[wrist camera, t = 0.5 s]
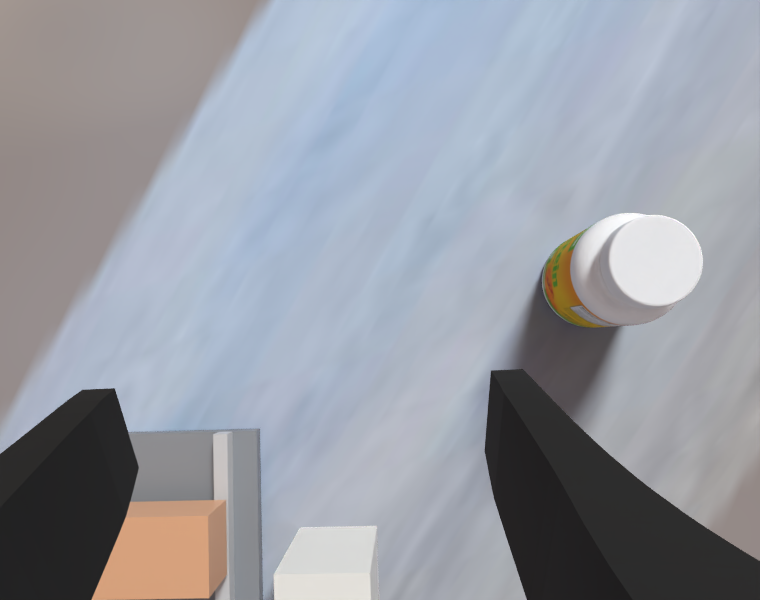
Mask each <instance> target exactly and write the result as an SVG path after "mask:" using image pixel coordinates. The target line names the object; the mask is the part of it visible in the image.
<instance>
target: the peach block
mask: <svg viewBox="0 0 760 600" xmlns="http://www.w3.org/2000/svg"><path fill="white" fill-rule="evenodd" d="M226 575H227V534H226V500H191V501H146V502H130V504H129V508H128V511H127V515H126V518H125V520H124V523H123V526H122V528H121V531H120V533H119V535H118V538H117V540H116V543H115V545H114V548H113V550H112V552H111V555H110V557H109V560H108V562H107V564H106V567H105V569H104V571H103V574H102V576H101V579H100V581H99V583H98V586H97V588H96V590H95V593H94V595H93V597H92V600H129V599H194V598H210V596H211V595H212V594H213V592H214V591H215V590H216V588H217V587H218V586H219V585H220V583H221V582H222V581H223V579H224V578H225V577H226Z"/></svg>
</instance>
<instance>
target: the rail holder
mask: <svg viewBox="0 0 760 600" xmlns="http://www.w3.org/2000/svg"><path fill="white" fill-rule="evenodd" d="M128 433H129V437H130V440H131V443H132V446H133V450H134V453H135V456H136V459H137V463H138V466H139V470H138V474H137V478H136V482H135V486H134V490H133V494H132V497H131V501H130V502H146V501H191V500H226V534H227V575H226V577H225V578H224V579H223V581H222V582H221V583H220V585H219V586H218V587H217V588H216V590H215V591H214V592H213V594H212V595H211V596H210V598H194V599H129V600H263V582H262V526H261V471H260V429H232V430H195V431H157V432H128Z"/></svg>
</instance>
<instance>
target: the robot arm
mask: <svg viewBox="0 0 760 600" xmlns="http://www.w3.org/2000/svg"><path fill="white" fill-rule="evenodd" d="M485 454H486V460H487V465H488V470H489V476H490V480H491V485H492V490H493V495H494V499H495V502H496V506H497V509H498V512H499V515H500V518H501V521H502V525H503V528H504V531H505V534H506V537H507V540H508V543H509V546H510V549H511V552H512V555H513V558H514V561H515V564H516V567H517V571H518V574H519V577H520V580H521V583H522V586H523V589H524V592H525V595H526V598H527V600H760V561H758V560H757V559H755V558H754V557H752V556H750V555H748V554H747V553H745V552H743V551H742V550H740V549H739V548H737V547H736V546H734V545H732V544H731V543H729V542H728V541H726V540H724V539H723V538H721V537H720V536H718V535H717V534H715V533H713V532H712V531H710V530H709V529H707V528H705V527H704V526H703V525H701V524H700V523H698V522H697V521H695V520H694V519H692V518H691V517H689V516H688V515H686V514H685V513H683V512H682V511H681V510H679V509H678V508H677V507H675V506H674V505H672V504H671V503H670V502H668V501H667V500H666V499H664V498H663V497H661V496H660V495H659V494H657V493H656V492H655V491H653V490H652V489H651V488H649V487H648V486H647V485H645V484H644V483H643V482H642V481H640V480H639V479H638V478H637V477H635V476H634V475H633V474H632V473H630V472H629V471H628V470H627V469H626V468H625V467H623V466H622V465H621V464H620V463H619V462H617V461H616V460H615V459H614V458H613V457H611V456H610V455H609V454H608V453H607V452H606V451H605V450H604V449H603V448H601V447H600V446H599V445H598V444H597V443H596V442H595V441H594V440H593V439H592V438H591V437H590V436H589V435H588V434H586V433H585V432H584V431H583V430H582V429H581V428H580V427H579V426H578V425H577V424H576V423H575V422H574V421H573V420H572V419H571V418H570V417H569V416H568V415H567V414H566V413H565V412H564V411H563V410H562V409H561V408H560V407H559V406H558V405H557V404H556V403H555V402H554V401H553V400H552V399H551V398H550V397H549V396H548V395H547V394H546V393H545V392H544V391H543V390H542V389H541V388H540V386H539V385H538V384H537V383H536V382H535V381H534V380H533V379H532V378H531V377H530V376H529V375H528V374H527V373H526V372H525V371H524V370H523V369H517V370H496V371H491V378H490V391H489V403H488V416H487V428H486V441H485ZM138 470H139V466H138V463H137V459H136V456H135V453H134V450H133V446H132V443H131V440H130V437H129V433H128V430H127V427H126V424H125V420H124V417H123V414H122V411H121V408H120V404H119V401H118V398H117V395H116V391H115V388H113V389H92V390H82V391H80V392H79V393H77V394H76V395H75V396H73V397H72V398H70V399H69V400H68V401H67V402H65V403H64V404H63V405H61V406H60V407H59V408H58V409H56V410H55V411H54V412H52V413H51V414H50V415H49V416H47V417H46V418H45V419H44V420H42V421H41V422H40V423H39V424H37V425H36V426H35V427H34V428H33V429H31V430H30V431H29V432H28V433H26V434H25V435H24V436H22V437H21V438H20V439H19V440H17V441H16V442H15V443H14V444H12V445H11V446H10V447H9V448H7V449H6V450H5V451H4V452H2V453H1V454H0V600H92V597H93V595H94V593H95V590H96V588H97V586H98V583H99V581H100V579H101V576H102V574H103V571H104V569H105V567H106V564H107V562H108V560H109V557H110V555H111V552H112V550H113V548H114V545H115V543H116V540H117V538H118V535H119V533H120V531H121V528H122V526H123V523H124V520H125V518H126V515H127V511H128V508H129V504H130V501H131V497H132V494H133V490H134V486H135V482H136V478H137V474H138Z"/></svg>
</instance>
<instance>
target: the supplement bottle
mask: <svg viewBox="0 0 760 600" xmlns="http://www.w3.org/2000/svg"><path fill="white" fill-rule="evenodd" d="M702 267H703V257H702V251H701V248H700V245H699V243H698V241H697V239H696V237H695V236H694V234H693V233H692V232H691V231H690V230H689V229H688V228H687V227H686V226H685V225H683V224H682V223H680V222H679V221H677V220H675V219H672V218H670V217H666V216H661V215H644V214H638V213H622V214H616V215H613V216H610V217H607V218H605V219H603V220H601V221H599V222H597V223H595V224H593V225H592V226H590V227H589V228H587V229H585V230H584V231H582V232H580V233H579V234H577V235H575V236H574V237H572V238H570V239H568V240H567V241H565V242H563V243H562V244H561V245H560V246H558V247H557V248H556V249H555V250H554V251H553V252H552V254H551V255H550V256H549V258H548V260H547V261H546V264H545V266H544V269H543V275H542V288H543V293H544V296H545V298H546V301H547V303H548V304H549V306H550V307H551V309H552V310H553V311H554V312H555V313H556V314H557V315H558V316H559V317H561V318H562V319H564V320H565V321H567V322H569V323H571V324H573V325H577V326H581V327H591V328H595V327H612V326H628V325H639V324H644V323H648V322H651V321H653V320H656V319H658V318H660V317H661V316H663V315H665V314H666V313H667V312H669V311H670V310H671V309H672V308H673V307H674V306H675V305H676V303H677V302H679V301H680V300H682V299H683V298H685V297H686V296H687V295H688V294H689V293H690V292H691V291H692V290H693V289H694V287H695V286H696V284H697V283H698V281H699V278H700V276H701V272H702Z"/></svg>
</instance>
